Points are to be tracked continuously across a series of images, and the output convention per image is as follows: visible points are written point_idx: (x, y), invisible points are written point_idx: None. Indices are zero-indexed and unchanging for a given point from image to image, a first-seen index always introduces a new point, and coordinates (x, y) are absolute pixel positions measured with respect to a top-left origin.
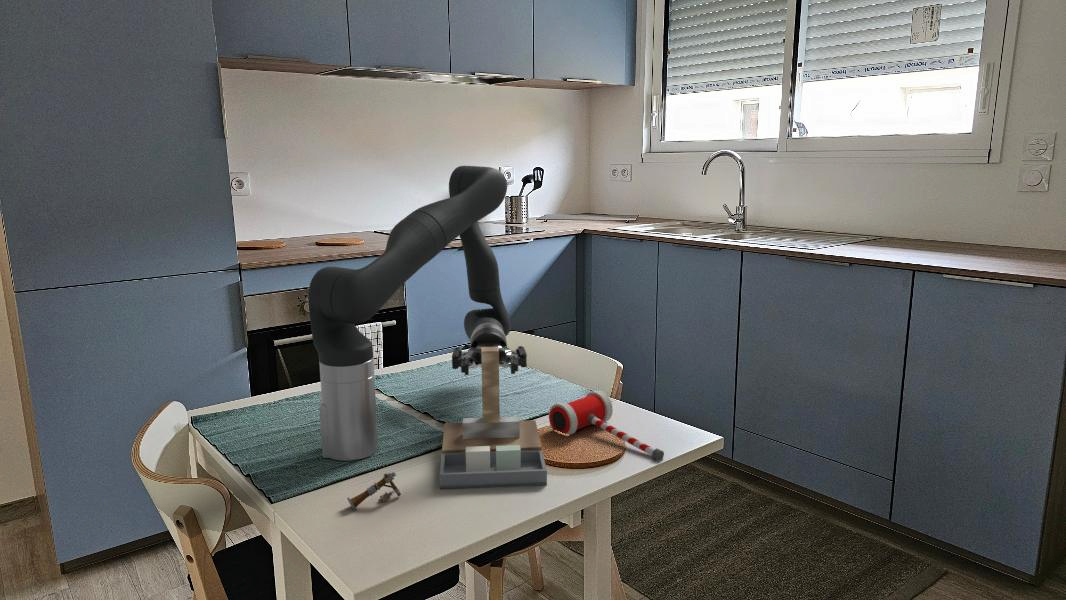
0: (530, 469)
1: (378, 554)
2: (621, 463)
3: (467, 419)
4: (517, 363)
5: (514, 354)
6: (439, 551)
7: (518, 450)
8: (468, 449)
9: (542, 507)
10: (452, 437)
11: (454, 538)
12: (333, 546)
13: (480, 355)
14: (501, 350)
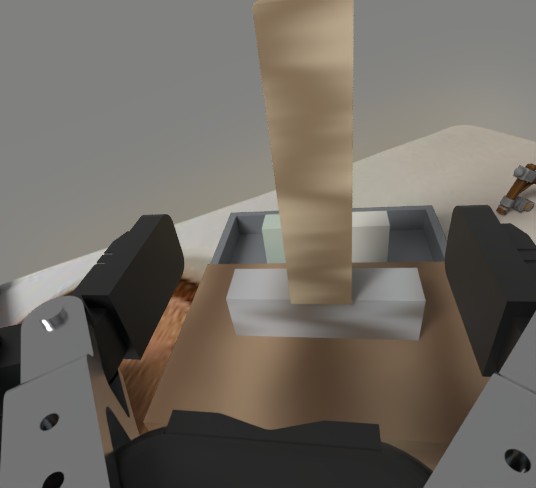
0: (249, 262)
1: (465, 145)
2: (67, 284)
3: (405, 291)
4: (119, 239)
5: (44, 316)
6: (393, 150)
7: (269, 215)
8: (381, 217)
9: (261, 198)
10: (450, 322)
11: (380, 161)
12: (533, 150)
13: (390, 445)
14: (98, 412)
